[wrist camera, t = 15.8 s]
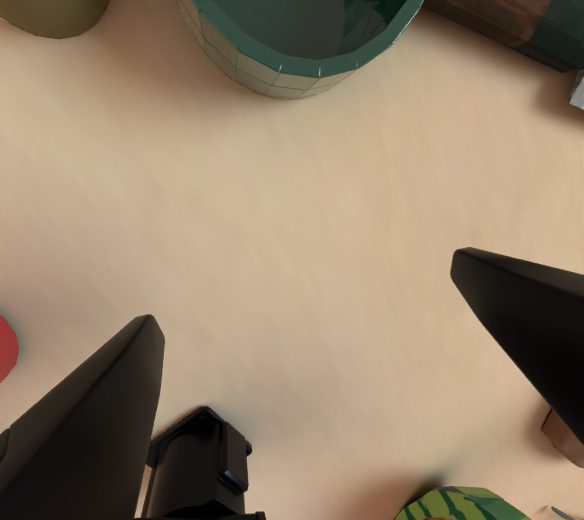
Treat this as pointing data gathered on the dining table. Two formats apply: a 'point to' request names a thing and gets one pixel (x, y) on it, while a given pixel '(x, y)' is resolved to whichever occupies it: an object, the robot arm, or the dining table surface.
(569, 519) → the novelty glasses
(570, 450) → the plant
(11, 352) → the beer can
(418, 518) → the fruit slice
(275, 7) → the pot
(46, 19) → the olive pestle
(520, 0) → the kitchen knife
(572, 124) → the dining table surface
